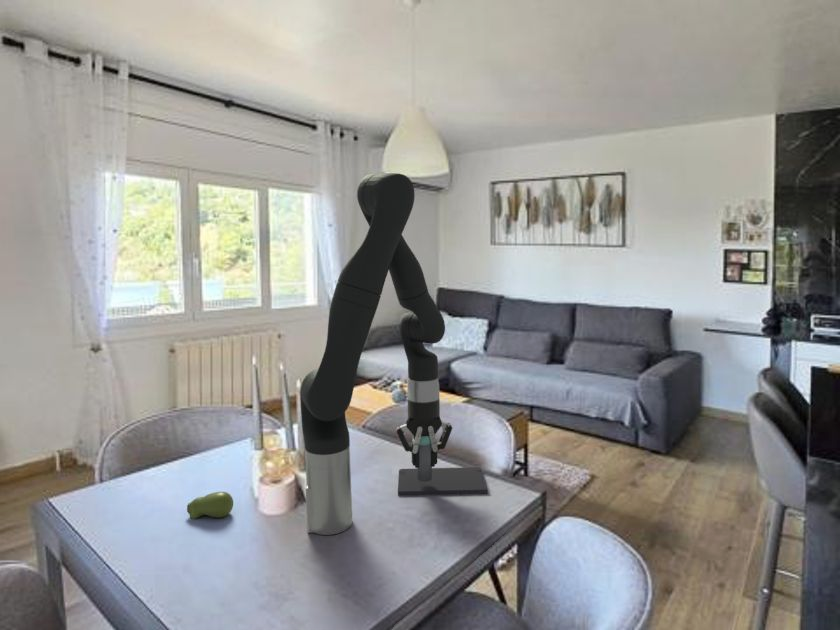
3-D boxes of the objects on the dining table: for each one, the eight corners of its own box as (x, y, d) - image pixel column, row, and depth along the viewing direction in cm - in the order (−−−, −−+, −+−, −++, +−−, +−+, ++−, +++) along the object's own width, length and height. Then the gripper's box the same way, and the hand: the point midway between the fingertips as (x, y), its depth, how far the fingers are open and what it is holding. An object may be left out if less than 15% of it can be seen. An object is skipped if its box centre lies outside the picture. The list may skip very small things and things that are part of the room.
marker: (418, 482, 124) (417, 437, 123) (416, 475, 128) (415, 432, 126) (433, 481, 125) (432, 436, 123) (431, 474, 128) (430, 431, 127)
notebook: (397, 497, 124) (487, 495, 124) (397, 491, 124) (487, 489, 124) (399, 474, 136) (480, 472, 137) (399, 468, 136) (480, 466, 136)
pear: (222, 498, 112) (179, 503, 113) (228, 521, 113) (185, 526, 114) (234, 485, 118) (193, 491, 119) (239, 507, 118) (198, 513, 119)
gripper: (395, 402, 119) (396, 475, 121) (456, 399, 121) (456, 470, 123) (392, 393, 126) (393, 461, 128) (449, 390, 128) (450, 457, 130)
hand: (424, 465), depth 126 cm, fingers closed on marker, 3 cm apart
